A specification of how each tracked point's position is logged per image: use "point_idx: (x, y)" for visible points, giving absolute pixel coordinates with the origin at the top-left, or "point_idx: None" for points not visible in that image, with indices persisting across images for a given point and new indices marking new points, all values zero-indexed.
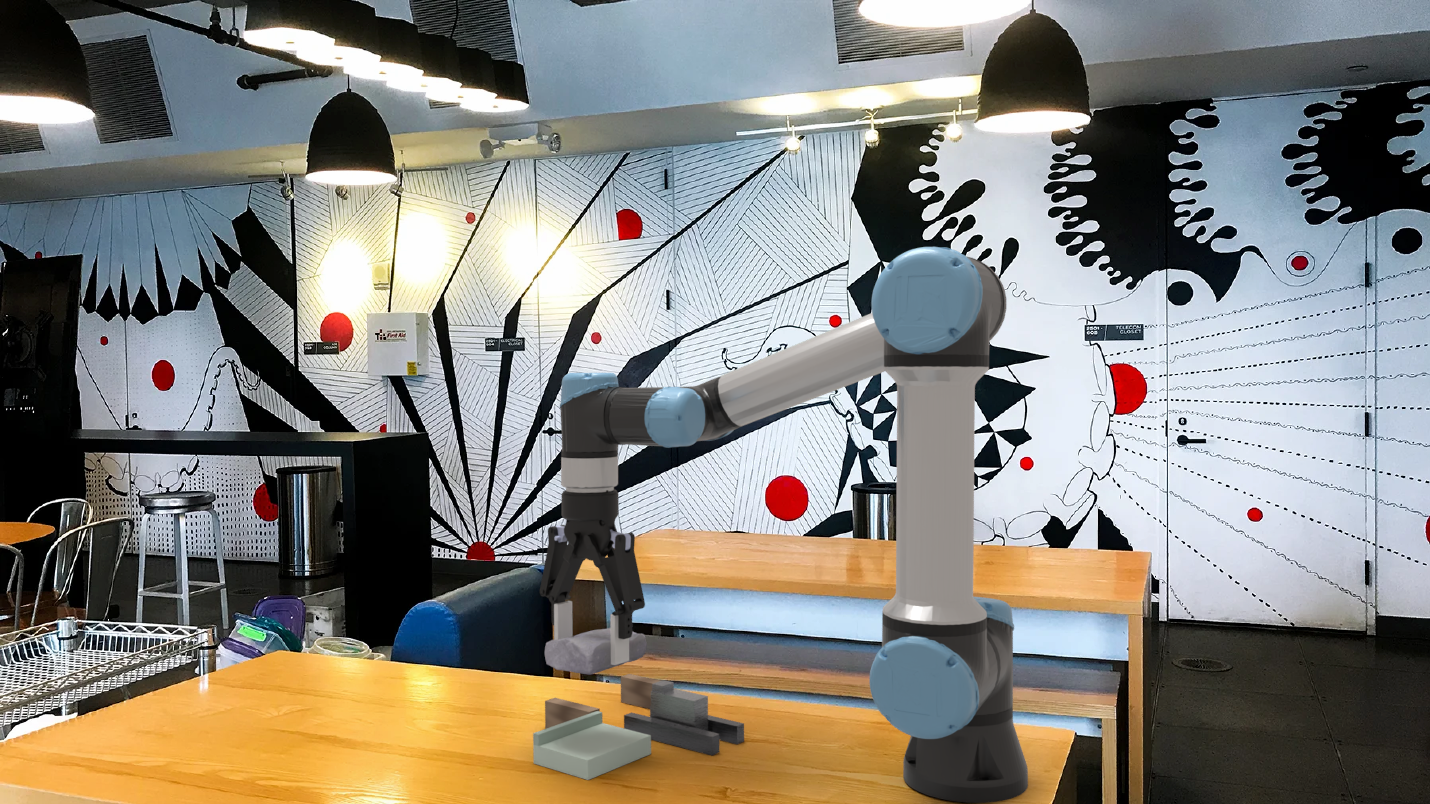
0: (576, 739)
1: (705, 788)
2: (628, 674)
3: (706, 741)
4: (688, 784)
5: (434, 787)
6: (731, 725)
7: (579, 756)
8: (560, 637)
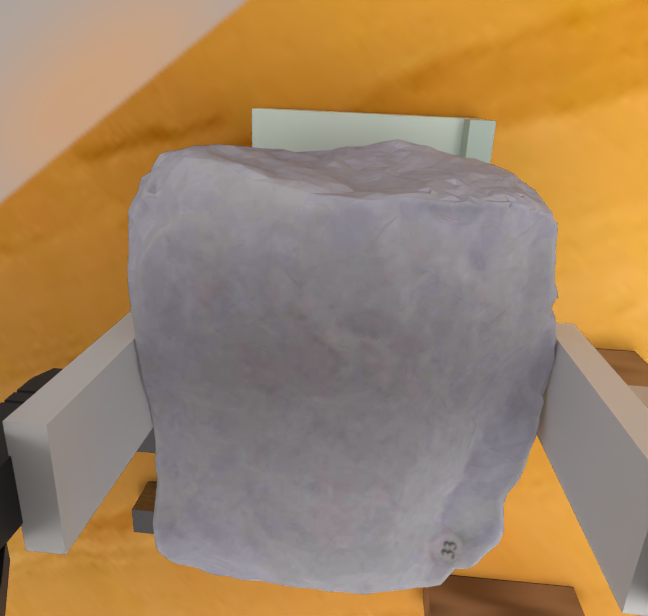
0: None
1: (8, 231)
2: None
3: None
4: (53, 229)
5: None
6: (149, 510)
7: (294, 120)
8: (564, 371)
